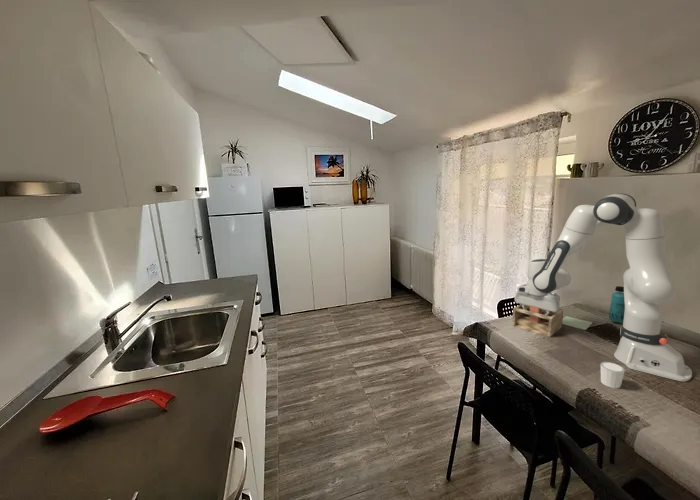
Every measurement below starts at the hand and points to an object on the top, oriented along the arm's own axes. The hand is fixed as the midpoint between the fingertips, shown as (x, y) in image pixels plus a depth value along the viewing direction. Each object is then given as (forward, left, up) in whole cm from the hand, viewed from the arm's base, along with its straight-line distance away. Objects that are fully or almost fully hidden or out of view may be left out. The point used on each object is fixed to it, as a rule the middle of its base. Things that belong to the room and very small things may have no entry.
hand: (535, 314), depth 156 cm
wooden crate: (0, -3, -8) cm, 8 cm away
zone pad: (-12, -21, -8) cm, 25 cm away
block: (0, 0, -4) cm, 4 cm away
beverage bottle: (-26, -36, -8) cm, 45 cm away
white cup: (-37, +28, -8) cm, 47 cm away
